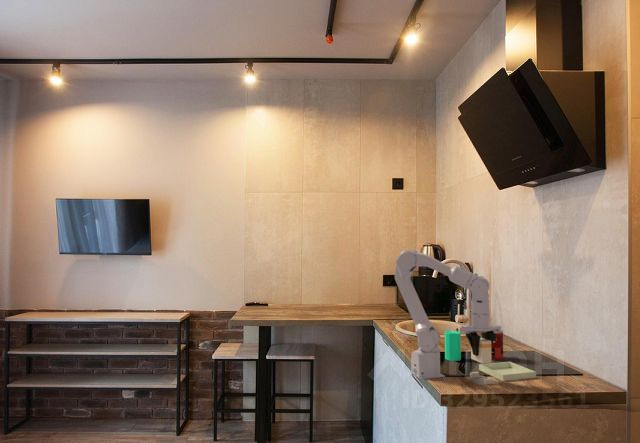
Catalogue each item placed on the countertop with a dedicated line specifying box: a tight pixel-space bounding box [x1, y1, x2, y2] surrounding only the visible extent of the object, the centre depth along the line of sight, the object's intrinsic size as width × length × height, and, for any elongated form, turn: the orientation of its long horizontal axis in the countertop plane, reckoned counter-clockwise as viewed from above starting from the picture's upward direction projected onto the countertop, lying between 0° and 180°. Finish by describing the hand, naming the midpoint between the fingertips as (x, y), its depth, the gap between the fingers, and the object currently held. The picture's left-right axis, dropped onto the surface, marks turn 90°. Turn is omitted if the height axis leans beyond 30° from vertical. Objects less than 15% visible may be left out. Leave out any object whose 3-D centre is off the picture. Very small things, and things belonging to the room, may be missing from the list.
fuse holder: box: [464, 371, 500, 387], centre depth 147 cm, size 7×9×2 cm
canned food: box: [491, 329, 504, 361], centre depth 178 cm, size 8×8×11 cm
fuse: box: [470, 337, 492, 364], centre depth 148 cm, size 4×6×7 cm, turn 16°
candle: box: [444, 328, 462, 362], centre depth 176 cm, size 6×6×12 cm
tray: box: [478, 361, 537, 382], centre depth 155 cm, size 13×13×2 cm
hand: (481, 354), depth 148 cm, fingers closed on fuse, 3 cm apart
